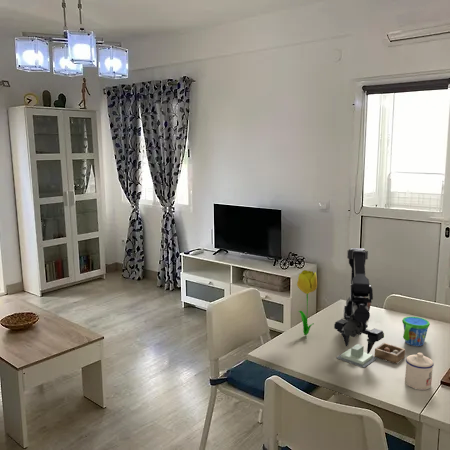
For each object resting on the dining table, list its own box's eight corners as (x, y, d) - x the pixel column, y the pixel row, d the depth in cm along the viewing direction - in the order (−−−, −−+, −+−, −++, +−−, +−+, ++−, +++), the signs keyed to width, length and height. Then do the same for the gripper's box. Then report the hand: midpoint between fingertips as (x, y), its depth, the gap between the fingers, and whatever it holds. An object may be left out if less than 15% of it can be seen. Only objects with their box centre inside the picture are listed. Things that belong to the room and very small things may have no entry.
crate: (374, 356, 186) (374, 348, 185) (383, 350, 191) (383, 342, 191) (396, 364, 180) (396, 355, 179) (404, 357, 185) (405, 349, 185)
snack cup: (414, 334, 207) (416, 313, 205) (436, 343, 198) (438, 320, 196) (392, 343, 198) (393, 320, 197) (414, 352, 190) (415, 328, 188)
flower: (317, 334, 207) (320, 270, 202) (312, 341, 200) (314, 274, 195) (299, 331, 211) (301, 267, 206) (293, 337, 204) (295, 272, 199)
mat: (336, 358, 185) (336, 357, 185) (350, 349, 192) (350, 348, 192) (364, 367, 176) (364, 367, 176) (377, 358, 184) (377, 357, 184)
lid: (341, 357, 185) (341, 346, 184) (351, 350, 191) (351, 340, 190) (362, 364, 178) (363, 354, 177) (372, 357, 184) (373, 347, 183)
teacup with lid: (432, 392, 159) (434, 361, 157) (403, 387, 162) (406, 356, 160) (431, 376, 170) (433, 347, 168) (404, 372, 173) (407, 343, 171)
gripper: (327, 312, 182) (326, 349, 184) (372, 324, 169) (369, 364, 172) (342, 305, 190) (340, 340, 192) (385, 316, 177) (383, 354, 180)
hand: (357, 350), depth 184 cm, fingers open, 9 cm apart
